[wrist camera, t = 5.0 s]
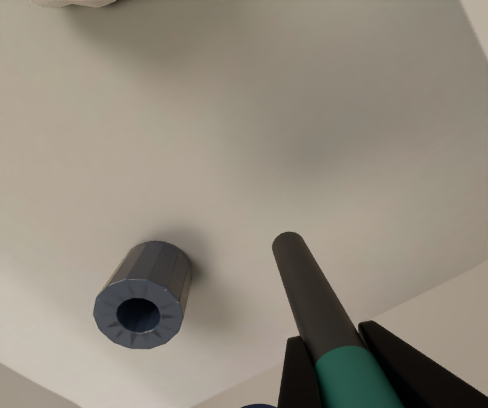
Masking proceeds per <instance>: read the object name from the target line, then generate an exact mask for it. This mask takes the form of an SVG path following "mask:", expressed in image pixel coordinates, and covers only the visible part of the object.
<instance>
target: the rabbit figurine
mask: <svg viewBox="0 0 488 408" xmlns="http://www.w3.org/2000/svg"><path fill="white" fill-rule="evenodd" d="M28 1H30V2H32V3H33V4H36V5H38V6H42V7H48V8H59V7H64V6H67V5H70V4H76V5H83V6H88V7H95V8H98V7H102V6H106V5H108V4H110V3H113V2H115V1H116V0H28Z"/></svg>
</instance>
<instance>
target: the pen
mask: <svg viewBox="0 0 488 408" xmlns="http://www.w3.org/2000/svg"><path fill="white" fill-rule="evenodd" d="M272 251H273V254H274V257H275V260H276V263H277V266H278V269H279V272H280V275H281V279H282V282H283V285H284V288H285V291H286V294H287V297H288V300H289V303H290V306H291V309H292V312H293V316H294V319H295V322H296V325H297V328H298V331H299V334H300V336H301V337H302V339H303V342H304V344H305V347H306V350H307V353H308V355H309V358H310V361H311V364H312V366H313V369H314V372H315V376H316V380H317V385H318V390H319V396H320V401H321V407H322V408H405V407H404V405H403V403H402V402H401V400H400V398H399V397H398V395H397V393H396V392H395V390H394V388H393V387H392V385H391V383H390V382H389V380H388V378H387V377H386V375H385V373H384V372H383V370H382V368H381V367H380V365H379V363H378V362H377V360H376V358H375V357H374V355H373V354H372V353H370V352H369V350H368V349H367V347H366V345H365V344H364V342H363V340H362V338H361V337H360V335H359V333H358V332H357V330H356V328H355V327H354V325H353V323H352V321H351V320H350V318H349V316H348V315H347V313H346V311H345V310H344V308H343V306H342V304H341V303H340V301H339V299H338V298H337V296H336V294H335V293H334V291H333V289H332V287H331V286H330V284H329V282H328V281H327V279H326V277H325V276H324V274H323V272H322V270H321V269H320V267H319V265H318V264H317V262H316V260H315V259H314V257H313V255H312V253H311V252H310V250H309V248H308V247H307V245H306V243H305V242H304V240H303V238H302V237H301V236H300V235H299V234H297V233H295V232H284V233H282V234H280V235H279V236H277V237H276V239H275V240H274V242H273V245H272Z"/></svg>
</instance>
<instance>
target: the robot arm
mask: <svg viewBox="0 0 488 408" xmlns="http://www.w3.org/2000/svg"><path fill="white" fill-rule="evenodd" d="M358 331H359V335H360V337H361V338H362V340H363V342H364V344H365V345H366V347H367V349H368V350H369V352H370V353H372V354H373V355H374V357H375V358H376V360H377V362H378V363H379V365H380V367H381V368H382V370H383V372H384V373H385V375H386V377H387V378H388V380H389V382H390V383H391V385H392V387H393V388H394V390H395V392H396V393H397V395H398V397H399V398H400V400H401V402H402V403H403V405H404V407H405V408H488V397H487V396H485V395H484V394H482V393H481V392H479V391H478V390H476V389H475V388H474V387H472V386H471V385H469V384H468V383H466V382H465V381H463V380H462V379H460V378H459V377H457V376H455V375H454V374H453V373H451V372H450V371H448V370H446V369H445V368H444V367H442V366H441V365H439V364H437V363H436V362H435V361H433V360H432V359H430V358H428V357H427V356H426V355H424V354H422V353H421V352H420V351H418V350H417V349H415V348H413V347H412V346H411V345H409V344H408V343H406V342H405V341H403V340H401V339H400V338H399V337H397V336H395V335H394V334H392V333H391V332H390V331H388V330H386V329H385V328H384V327H382V326H381V325H379V324H378V323H376V322H374V321H372V320H370V321H365V322H360V323H359V324H358ZM277 408H322V407H321V401H320V396H319V390H318V385H317V380H316V376H315V372H314V369H313V366H312V364H311V361H310V358H309V355H308V353H307V350H306V347H305V344H304V342H303V339H302V337H301V336H295V337H291V338H288V340H287V346H286V352H285V359H284V366H283V372H282V380H281V386H280V394H279V399H278V406H277Z"/></svg>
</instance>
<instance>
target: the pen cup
mask: <svg viewBox="0 0 488 408" xmlns="http://www.w3.org/2000/svg"><path fill="white" fill-rule="evenodd" d="M191 279H192V268H191V264H190V262H189V260H188V258H187V256H186V255H185V254H184V253H183V252H182V251H181V250H180V249H179V248H177V247H175V246H174V245H171V244H169V243H166V242H161V241H150V242H145V243H142V244H139V245H137V246H136V247H134V248H133V249H131V250H130V251H129V253H128V254H127V255H126V257H125V258H124V259H123V260H122V261H121V263H120V264H119V266H118V267H117V268H116V270H115V271H114V273H113V274H112V276H111V277H110V278H109V280H108V281H107V283H106V284H105V286H104V287H103V288H102V290H101V291H100V293H99V294H98V296H97V298H96V301H95V306H94V311H93V316H94V318H95V321H96V323H97V326H98V328H99V329H100V331H101V332H102V333H103V334H104V335H105V336H107V337H108V338H109V339H110V340H111V341H113V343H116V344H119V345H121V346H124V347H127V348H129V349H130V348H131V349H151V348H154V347H157V346H160V345H163V344H166V343H167V342H168V341H169V340H170V339H171V338H172V337H174V336H175V335H176V334H177V333H178V332H179V330H180V327H181V324H182V320H183V317H184V312H185V308H186V303H187V298H188V293H189V289H190V284H191Z"/></svg>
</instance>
